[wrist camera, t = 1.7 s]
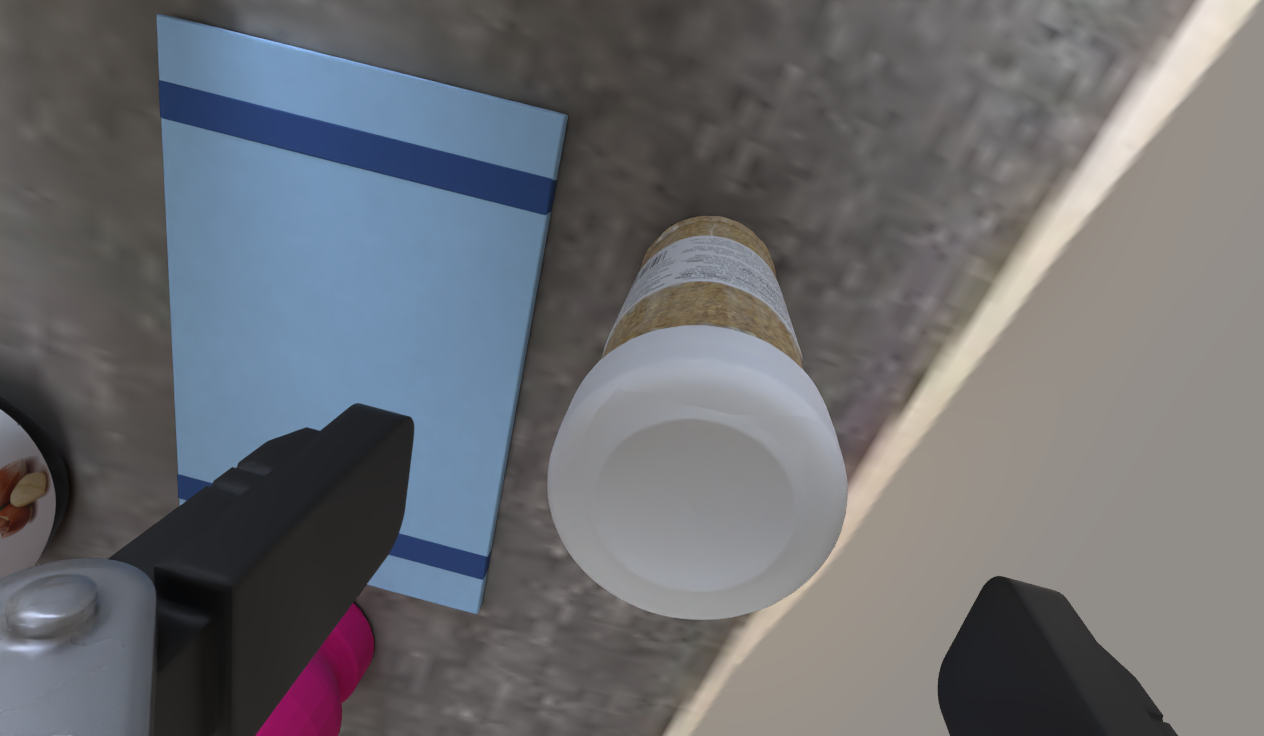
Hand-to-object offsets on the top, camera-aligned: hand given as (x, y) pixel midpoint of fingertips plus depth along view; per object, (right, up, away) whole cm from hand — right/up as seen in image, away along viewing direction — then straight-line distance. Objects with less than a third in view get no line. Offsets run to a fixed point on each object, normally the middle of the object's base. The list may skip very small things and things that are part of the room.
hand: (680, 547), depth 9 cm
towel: (-11, +3, +16) cm, 19 cm away
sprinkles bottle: (+2, +5, +13) cm, 14 cm away
